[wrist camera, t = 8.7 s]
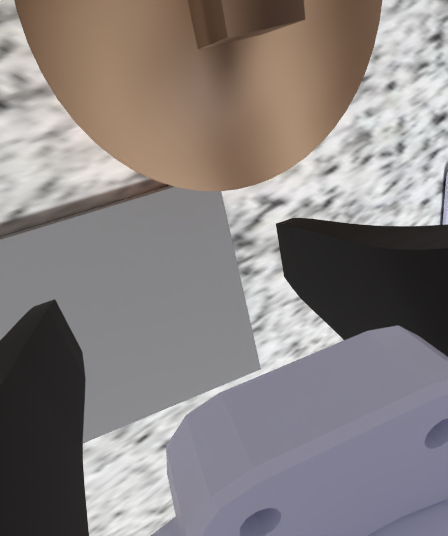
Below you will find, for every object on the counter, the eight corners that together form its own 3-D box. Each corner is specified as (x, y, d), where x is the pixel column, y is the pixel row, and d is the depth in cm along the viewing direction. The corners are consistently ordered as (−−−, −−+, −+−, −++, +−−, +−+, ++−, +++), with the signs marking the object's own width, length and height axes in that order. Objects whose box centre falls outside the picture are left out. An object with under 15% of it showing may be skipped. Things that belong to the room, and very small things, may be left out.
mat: (214, 172, 21) (217, 174, 21) (257, 364, 28) (260, 369, 28) (-67, 256, 19) (-71, 261, 18) (59, 445, 26) (59, 453, 25)
